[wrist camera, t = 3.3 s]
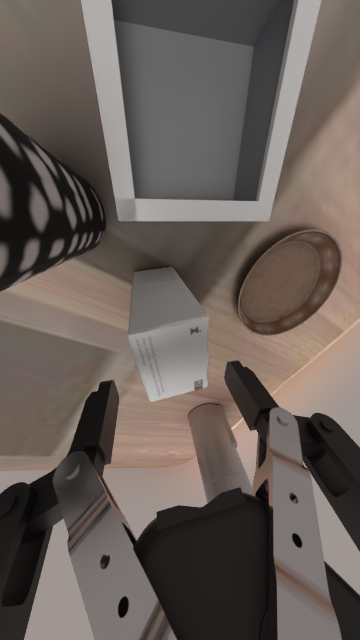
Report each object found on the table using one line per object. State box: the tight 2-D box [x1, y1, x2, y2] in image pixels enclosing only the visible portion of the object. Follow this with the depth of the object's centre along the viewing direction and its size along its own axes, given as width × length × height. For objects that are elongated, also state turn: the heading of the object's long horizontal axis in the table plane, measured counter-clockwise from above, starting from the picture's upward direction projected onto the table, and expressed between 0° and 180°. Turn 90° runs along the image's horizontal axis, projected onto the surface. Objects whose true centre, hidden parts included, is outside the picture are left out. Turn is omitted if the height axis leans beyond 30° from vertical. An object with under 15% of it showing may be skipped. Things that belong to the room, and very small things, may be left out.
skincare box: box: [127, 267, 210, 402], centre depth 19 cm, size 8×6×15 cm
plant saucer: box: [238, 229, 342, 336], centre depth 27 cm, size 18×18×3 cm
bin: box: [81, 0, 321, 221], centre depth 14 cm, size 15×15×6 cm
